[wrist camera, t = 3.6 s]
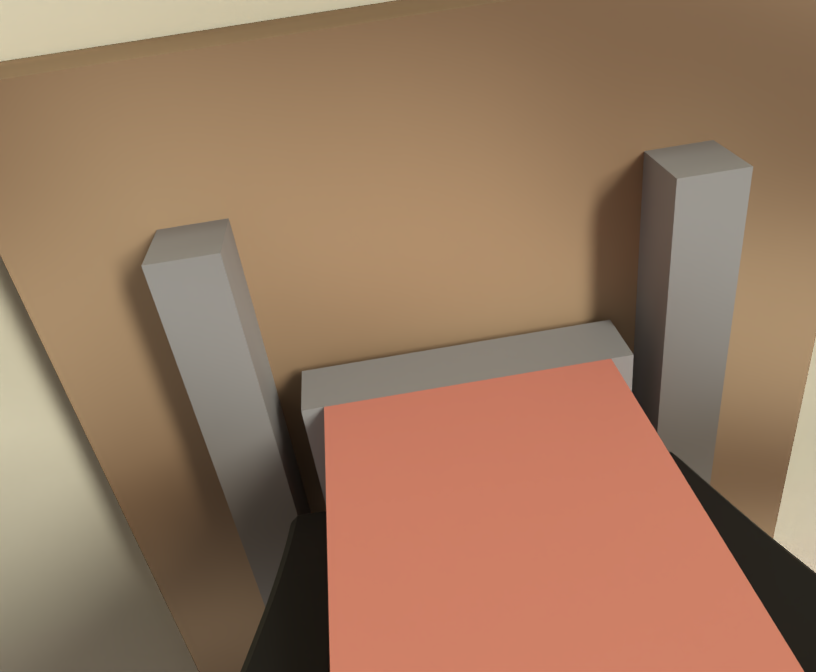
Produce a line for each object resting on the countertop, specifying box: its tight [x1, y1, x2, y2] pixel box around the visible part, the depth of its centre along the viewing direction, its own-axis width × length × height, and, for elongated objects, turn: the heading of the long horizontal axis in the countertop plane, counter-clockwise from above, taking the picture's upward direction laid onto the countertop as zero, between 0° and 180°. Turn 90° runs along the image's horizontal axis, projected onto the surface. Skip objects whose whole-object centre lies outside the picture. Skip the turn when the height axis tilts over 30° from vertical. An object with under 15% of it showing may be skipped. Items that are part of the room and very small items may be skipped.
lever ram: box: [301, 320, 804, 672], centre depth 9 cm, size 4×4×6 cm
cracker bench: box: [0, 0, 816, 672], centre depth 11 cm, size 15×11×4 cm
